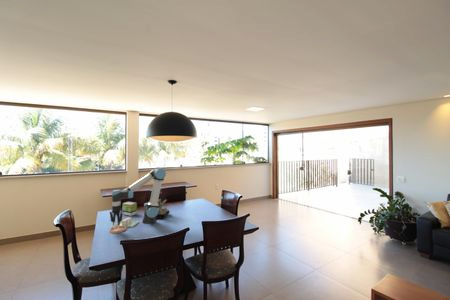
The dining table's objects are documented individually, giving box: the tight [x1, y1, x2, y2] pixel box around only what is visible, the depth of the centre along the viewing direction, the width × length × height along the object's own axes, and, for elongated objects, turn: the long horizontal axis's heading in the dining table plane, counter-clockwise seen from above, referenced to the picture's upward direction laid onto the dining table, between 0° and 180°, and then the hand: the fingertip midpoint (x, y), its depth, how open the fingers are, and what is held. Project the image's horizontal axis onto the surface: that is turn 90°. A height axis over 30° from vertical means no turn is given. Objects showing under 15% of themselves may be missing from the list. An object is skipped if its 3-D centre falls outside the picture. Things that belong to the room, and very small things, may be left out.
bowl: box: [109, 226, 127, 234], centre depth 216 cm, size 15×15×2 cm
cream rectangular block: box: [124, 217, 132, 224], centre depth 236 cm, size 4×4×6 cm
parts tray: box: [112, 220, 140, 228], centre depth 232 cm, size 21×16×2 cm
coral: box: [155, 198, 170, 219], centre depth 264 cm, size 25×20×22 cm
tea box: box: [121, 201, 138, 217], centre depth 272 cm, size 15×10×15 cm, turn 66°
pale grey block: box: [122, 218, 128, 226], centre depth 229 cm, size 4×4×6 cm
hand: (116, 228), depth 213 cm, fingers open, 3 cm apart
